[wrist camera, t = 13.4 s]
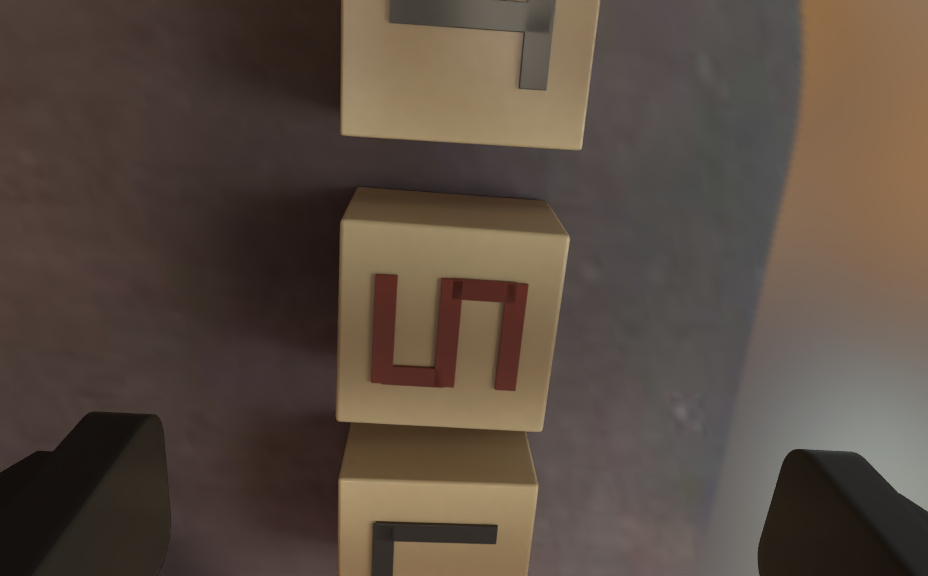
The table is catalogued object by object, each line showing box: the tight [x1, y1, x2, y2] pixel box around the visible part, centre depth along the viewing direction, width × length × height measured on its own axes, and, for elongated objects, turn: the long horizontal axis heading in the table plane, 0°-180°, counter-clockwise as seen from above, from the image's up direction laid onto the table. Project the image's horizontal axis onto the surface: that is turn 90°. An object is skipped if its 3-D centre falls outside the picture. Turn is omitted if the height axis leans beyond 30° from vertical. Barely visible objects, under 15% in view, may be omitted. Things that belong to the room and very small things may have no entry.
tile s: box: [335, 187, 570, 432], centre depth 16 cm, size 4×4×3 cm
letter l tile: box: [338, 422, 539, 576], centre depth 18 cm, size 4×4×3 cm
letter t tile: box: [340, 0, 601, 150], centre depth 13 cm, size 4×4×3 cm
